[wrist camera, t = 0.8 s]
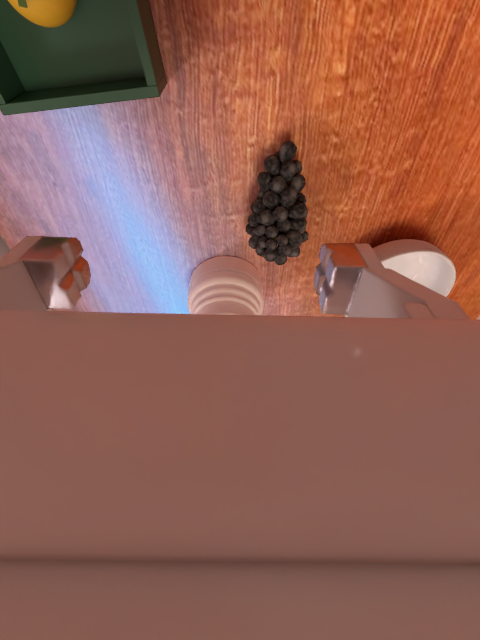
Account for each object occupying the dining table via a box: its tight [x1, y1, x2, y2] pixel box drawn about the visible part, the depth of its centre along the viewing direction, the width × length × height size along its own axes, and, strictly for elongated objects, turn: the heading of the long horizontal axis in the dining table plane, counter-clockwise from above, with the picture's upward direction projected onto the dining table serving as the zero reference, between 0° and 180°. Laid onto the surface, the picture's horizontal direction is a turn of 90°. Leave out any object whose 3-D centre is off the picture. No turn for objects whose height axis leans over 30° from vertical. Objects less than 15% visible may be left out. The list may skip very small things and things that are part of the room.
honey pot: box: [188, 256, 264, 315], centre depth 49 cm, size 13×13×18 cm
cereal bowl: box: [344, 239, 456, 317], centre depth 50 cm, size 17×17×7 cm
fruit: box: [246, 141, 308, 265], centre depth 40 cm, size 9×8×15 cm
